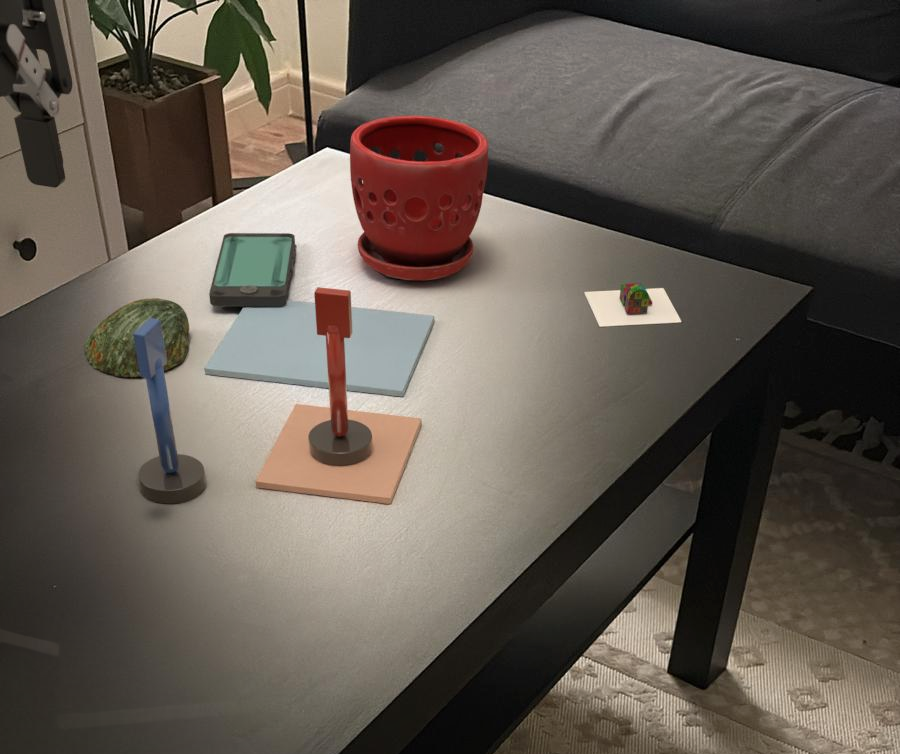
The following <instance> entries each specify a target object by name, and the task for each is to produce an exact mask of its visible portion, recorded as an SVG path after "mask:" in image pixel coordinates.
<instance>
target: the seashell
mask: <svg viewBox="0 0 900 754" xmlns="http://www.w3.org/2000/svg"><path fill="white" fill-rule="evenodd" d="M149 318H154V319H159V320H161V327H162V333H163V339H164V346H165V352H166V358H167V363H166V364H165V365H164V366H163V368H164V372H165V371H169V370H171V369H172V368H173V367H175V366H177V365H179V364H180V363H182V362H183V361H185V358H186V356H187V352H188V350H189V347H190V343H189V341H188V337H187V336H188V335H189V331H190V323H189V318H188V315H187V312H186V311H185V309H184V308H183V307H182V306H181V305H180V304H178V303H176V302H175V301H172V300H168V299H163V298H157V297H155V298H144V299H143V298H142V299H138V300H134V301H132V302H129V303H127V304H125V305H123V306H121V307H119V308H118V309H116V310H115V311H113V312H112V313H111V314H109V315H108V316H107V317H105V318H104V319H103V320H102V321H101V322H100V323H99V324H98V326H96V328H94V330H92V332H91V333H90V335H89V336H88V338H87V340H86V342H85V344H84V355H85V357H86V359H87V360H88V361H89V364H90V365H92V367H93V368H94V369H97V370H99V371H100V372H102V373H105V374H107V375H114V376H115V377H118V378H138V377H141V376H140V371H139V365H138V359H137V354H136V348H135V342H134V337H133V333H134V332H135V331H136V330H137V329H139V328H140V327H141V326H142V325H143V324H144V323H145V322H146V321H147V320H148V319H149Z"/></svg>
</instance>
